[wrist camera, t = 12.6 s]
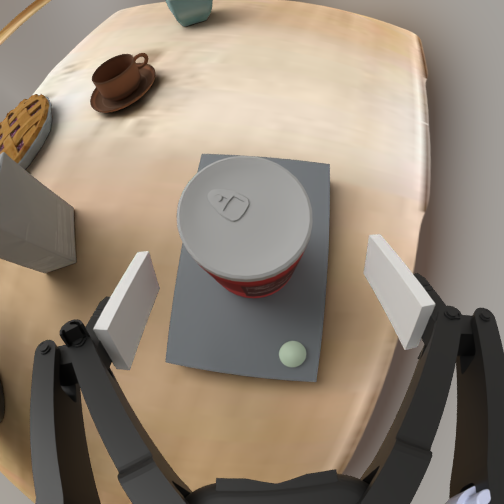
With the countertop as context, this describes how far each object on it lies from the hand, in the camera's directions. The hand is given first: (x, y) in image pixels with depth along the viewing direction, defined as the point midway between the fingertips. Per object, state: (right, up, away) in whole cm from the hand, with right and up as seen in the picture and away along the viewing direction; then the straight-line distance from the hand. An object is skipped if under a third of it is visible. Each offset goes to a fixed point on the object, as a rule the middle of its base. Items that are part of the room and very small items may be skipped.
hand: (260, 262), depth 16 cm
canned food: (0, 0, +10) cm, 10 cm away
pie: (-47, +22, +22) cm, 56 cm away
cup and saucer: (-22, +27, +22) cm, 41 cm away
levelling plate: (0, -1, +13) cm, 13 cm away
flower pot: (-13, +50, +27) cm, 59 cm away
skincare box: (-26, +2, +15) cm, 30 cm away
